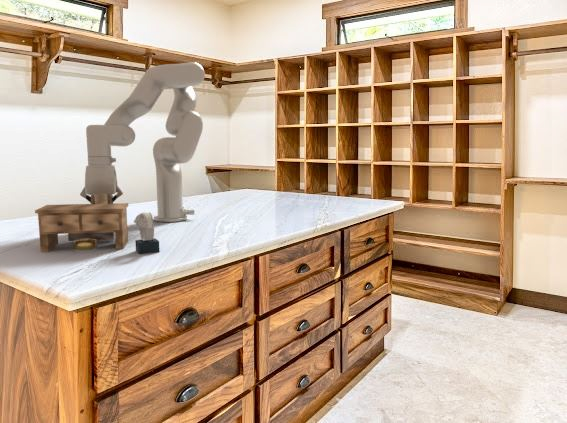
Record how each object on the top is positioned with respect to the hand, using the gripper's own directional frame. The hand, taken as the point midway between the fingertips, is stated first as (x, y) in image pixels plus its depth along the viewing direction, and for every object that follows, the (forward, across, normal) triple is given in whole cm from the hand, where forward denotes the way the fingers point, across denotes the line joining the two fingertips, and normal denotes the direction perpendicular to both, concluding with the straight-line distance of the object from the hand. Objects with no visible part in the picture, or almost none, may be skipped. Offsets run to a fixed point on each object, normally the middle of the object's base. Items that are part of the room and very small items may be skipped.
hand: (102, 214), depth 164 cm
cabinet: (+5, 0, +27) cm, 27 cm away
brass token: (+5, 0, +28) cm, 28 cm away
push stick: (+5, 0, +9) cm, 10 cm away
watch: (+5, -18, +36) cm, 41 cm away
